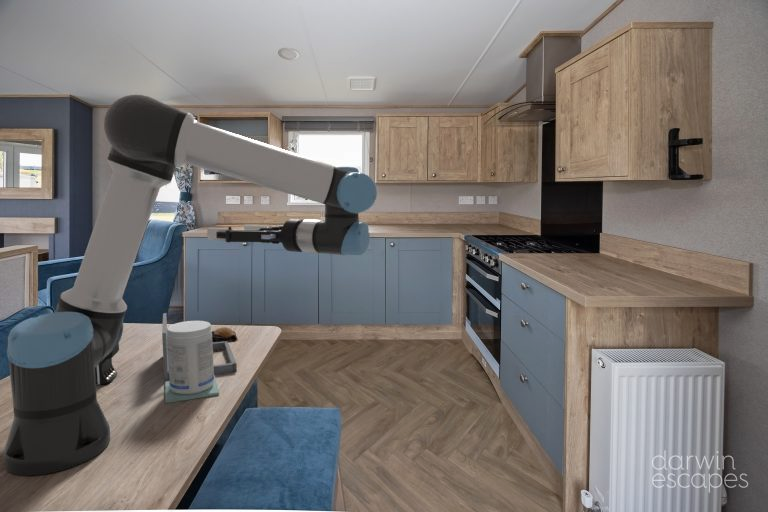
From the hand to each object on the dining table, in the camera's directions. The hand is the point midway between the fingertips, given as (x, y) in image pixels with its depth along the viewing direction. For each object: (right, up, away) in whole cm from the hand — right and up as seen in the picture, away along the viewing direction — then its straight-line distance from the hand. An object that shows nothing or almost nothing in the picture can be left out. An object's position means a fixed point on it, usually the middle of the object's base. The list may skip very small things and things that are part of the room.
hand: (227, 231), depth 112 cm
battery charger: (-28, -36, -2) cm, 46 cm away
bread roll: (-12, -33, +32) cm, 47 cm away
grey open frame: (-11, -35, +10) cm, 38 cm away
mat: (-6, -37, -7) cm, 38 cm away
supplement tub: (-6, -37, -7) cm, 38 cm away
